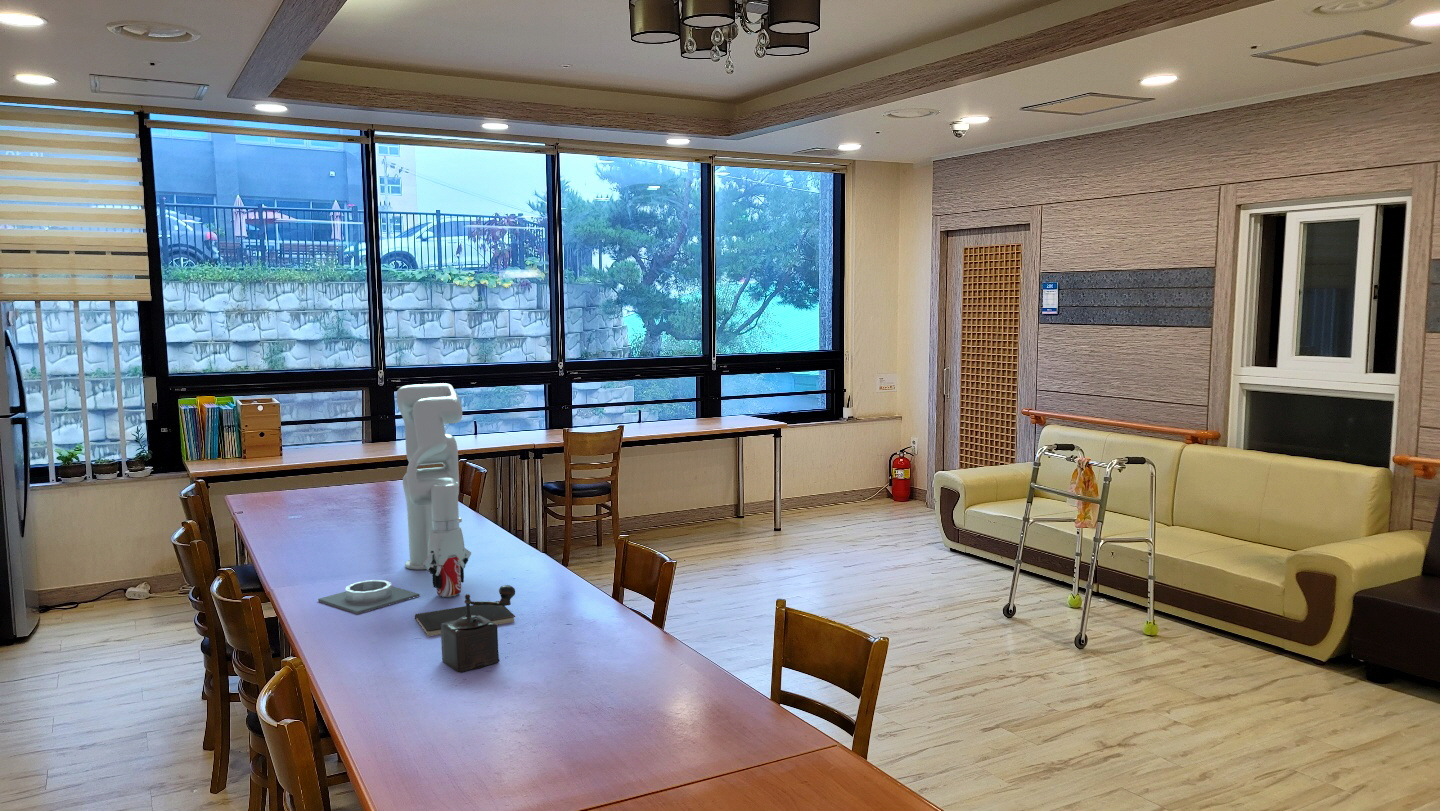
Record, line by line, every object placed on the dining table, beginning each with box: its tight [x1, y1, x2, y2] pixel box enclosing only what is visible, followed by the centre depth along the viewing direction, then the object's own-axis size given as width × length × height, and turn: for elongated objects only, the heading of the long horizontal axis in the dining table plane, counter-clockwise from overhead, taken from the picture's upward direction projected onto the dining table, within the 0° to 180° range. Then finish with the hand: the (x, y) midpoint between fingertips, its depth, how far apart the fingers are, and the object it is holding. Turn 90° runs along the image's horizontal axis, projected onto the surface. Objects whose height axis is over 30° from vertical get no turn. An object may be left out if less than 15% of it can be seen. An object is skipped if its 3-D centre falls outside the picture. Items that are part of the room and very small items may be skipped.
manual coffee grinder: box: [440, 584, 516, 674], centre depth 238 cm, size 16×11×18 cm
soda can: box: [435, 555, 462, 598], centre depth 291 cm, size 7×7×12 cm
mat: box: [318, 585, 420, 615], centre depth 289 cm, size 20×20×1 cm
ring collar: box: [345, 579, 392, 603], centre depth 289 cm, size 12×12×3 cm
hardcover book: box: [414, 600, 516, 637], centre depth 268 cm, size 16×23×2 cm
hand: (448, 584), depth 291 cm, fingers closed on soda can, 7 cm apart
